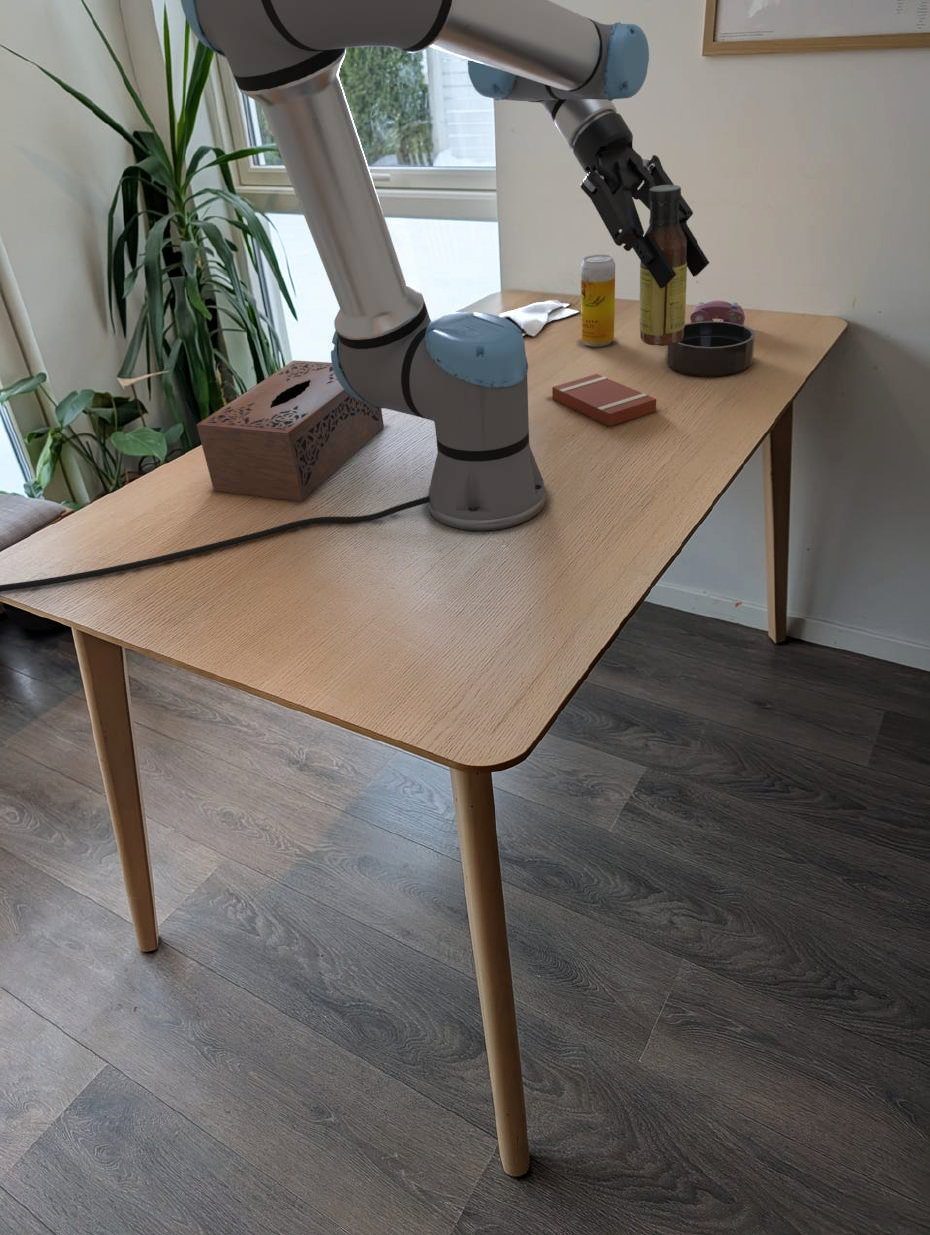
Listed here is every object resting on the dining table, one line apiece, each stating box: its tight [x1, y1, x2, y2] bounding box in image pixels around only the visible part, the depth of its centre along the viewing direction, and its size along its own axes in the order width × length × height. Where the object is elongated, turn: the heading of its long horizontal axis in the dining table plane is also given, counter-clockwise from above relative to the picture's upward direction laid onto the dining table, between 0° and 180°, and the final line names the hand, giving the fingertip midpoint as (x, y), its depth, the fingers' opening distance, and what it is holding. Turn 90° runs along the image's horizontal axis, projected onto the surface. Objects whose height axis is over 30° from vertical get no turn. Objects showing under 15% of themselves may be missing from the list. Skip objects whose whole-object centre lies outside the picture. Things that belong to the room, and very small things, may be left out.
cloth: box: [498, 299, 580, 338], centre depth 180 cm, size 26×14×2 cm, turn 141°
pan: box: [665, 320, 756, 377], centre depth 151 cm, size 14×14×5 cm
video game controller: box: [689, 300, 746, 326], centre depth 165 cm, size 10×5×7 cm, turn 73°
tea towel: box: [551, 373, 657, 427], centre depth 141 cm, size 9×15×2 cm, turn 30°
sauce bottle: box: [639, 184, 688, 347], centre depth 120 cm, size 7×6×20 cm
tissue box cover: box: [196, 360, 385, 503], centre depth 131 cm, size 26×14×10 cm, turn 158°
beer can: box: [580, 254, 616, 348], centre depth 162 cm, size 6×6×15 cm
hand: (684, 275), depth 118 cm, fingers closed on sauce bottle, 6 cm apart
